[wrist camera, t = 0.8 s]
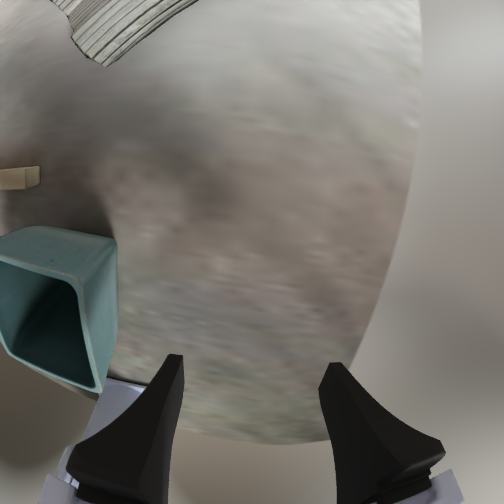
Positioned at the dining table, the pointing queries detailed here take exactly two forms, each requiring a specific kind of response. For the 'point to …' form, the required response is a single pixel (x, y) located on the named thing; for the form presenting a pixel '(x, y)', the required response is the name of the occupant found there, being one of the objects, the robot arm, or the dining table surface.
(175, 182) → the dining table surface
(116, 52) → the mat
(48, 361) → the flower pot
